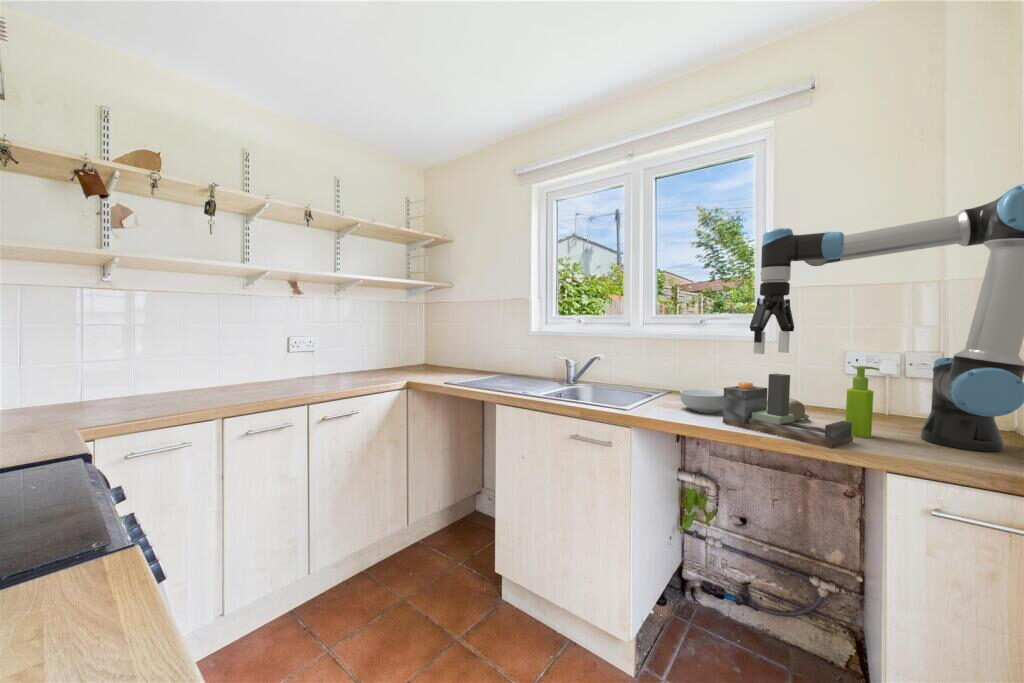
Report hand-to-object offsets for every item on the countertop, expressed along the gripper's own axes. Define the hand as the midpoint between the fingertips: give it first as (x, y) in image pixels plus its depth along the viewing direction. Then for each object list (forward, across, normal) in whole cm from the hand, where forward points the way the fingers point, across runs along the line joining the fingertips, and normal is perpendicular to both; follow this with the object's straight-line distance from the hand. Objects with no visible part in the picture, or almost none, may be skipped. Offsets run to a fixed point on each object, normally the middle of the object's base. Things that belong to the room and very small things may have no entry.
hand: (771, 353), depth 126 cm
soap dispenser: (+23, -16, +17) cm, 33 cm away
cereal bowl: (+24, -6, -26) cm, 36 cm away
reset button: (+13, 0, -7) cm, 15 cm away
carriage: (+20, 0, +1) cm, 20 cm away
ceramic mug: (+23, -20, -3) cm, 31 cm away
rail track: (+23, 0, +4) cm, 23 cm away
